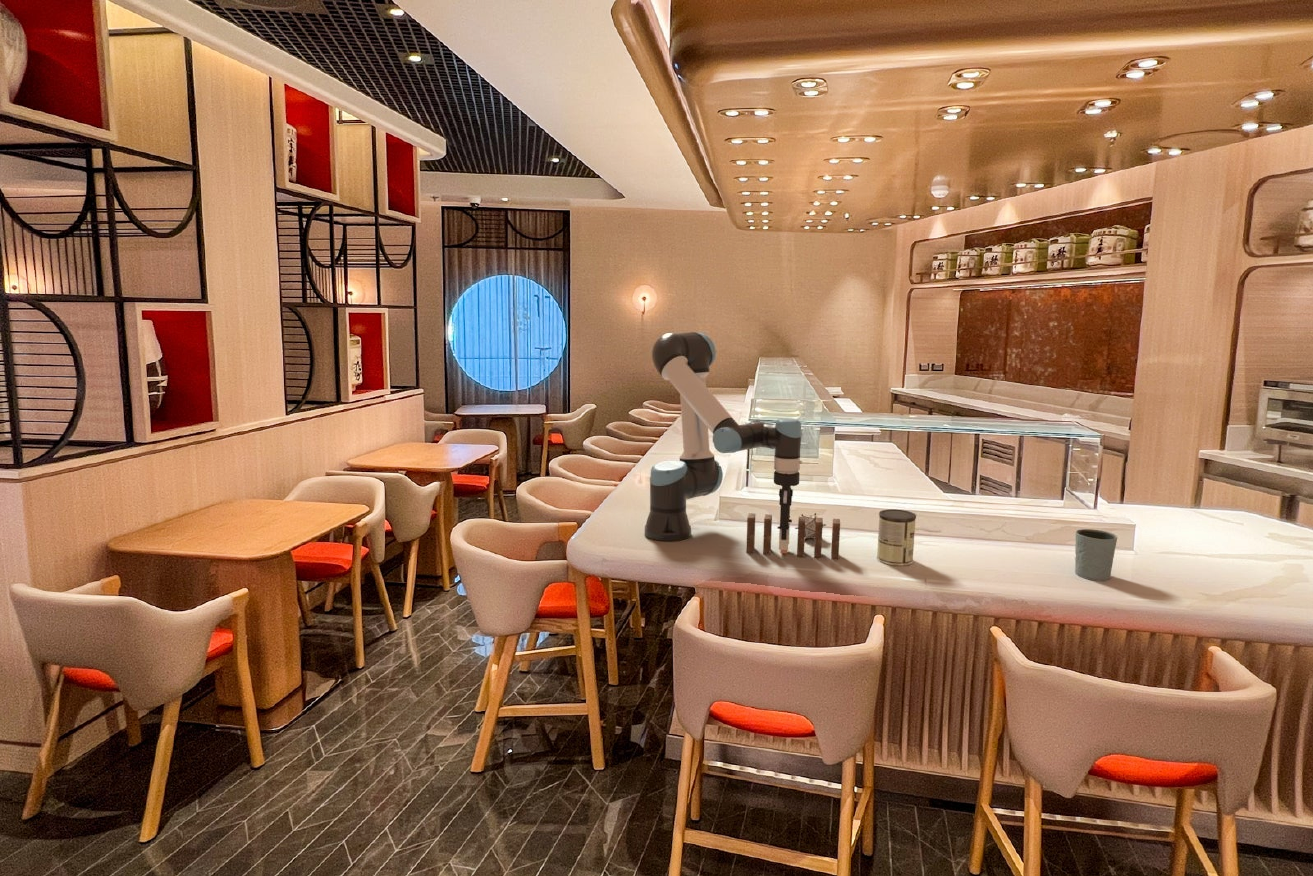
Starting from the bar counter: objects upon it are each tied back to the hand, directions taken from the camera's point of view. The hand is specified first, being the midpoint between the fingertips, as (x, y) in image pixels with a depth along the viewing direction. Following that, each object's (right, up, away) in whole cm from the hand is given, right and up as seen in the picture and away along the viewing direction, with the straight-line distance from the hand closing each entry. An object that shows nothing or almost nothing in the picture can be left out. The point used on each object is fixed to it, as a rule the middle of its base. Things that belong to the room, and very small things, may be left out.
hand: (783, 546), depth 229 cm
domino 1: (-10, -2, +2) cm, 10 cm away
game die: (+11, 0, +15) cm, 18 cm away
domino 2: (-5, -2, +1) cm, 5 cm away
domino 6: (+15, -3, -3) cm, 15 cm away
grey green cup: (+83, -6, -16) cm, 85 cm away
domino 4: (+5, -2, -1) cm, 5 cm away
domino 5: (+10, -3, -2) cm, 10 cm away
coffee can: (+32, -4, -5) cm, 32 cm away
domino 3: (0, -1, 0) cm, 1 cm away
